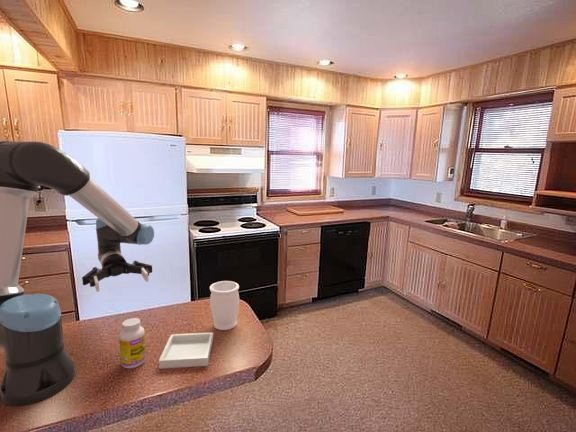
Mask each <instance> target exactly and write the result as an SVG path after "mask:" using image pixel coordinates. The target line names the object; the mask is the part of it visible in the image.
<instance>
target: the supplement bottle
mask: <svg viewBox="0 0 576 432" xmlns="http://www.w3.org/2000/svg"><path fill="white" fill-rule="evenodd" d="M121 328H122V330H120V332H119V336H118V342H119V353H120V354H119V356H120V364H121V367H123V368H124V369H134V368H138V367H139V366H141V365H143V364H144V363H145V361H146V358H147V350H146V333H145V332H146V331H145V328H144V326H141V319H140V318H138V317H131V318H128V319H125V320H123V322H121Z"/></svg>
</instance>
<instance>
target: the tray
mask: <svg viewBox="0 0 576 432" xmlns="http://www.w3.org/2000/svg"><path fill="white" fill-rule="evenodd" d="M213 342H214V332H211V331H210V332H195V333H193V332H192V333H175V334H170V335H169V338H168V340H167V343H166V344H165V346H164V349H163V351H162V352H161V354H160V357H159V359H158V368H159V369H160V370H162V369H175V368H176V369H177V368H188V367H189V368H190V367H207V366H209V362H210V357H211V352H212V347H213Z"/></svg>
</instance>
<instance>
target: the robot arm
mask: <svg viewBox="0 0 576 432" xmlns="http://www.w3.org/2000/svg"><path fill="white" fill-rule="evenodd" d="M39 186H43V187H47V188H49V189H53V190H54V191H56V192H57V193H59V194H60V195H61V196H65V197H68V196H69V197H70V198H72V199H73V200H74V201H75V202H76V203H78V204H79V205H81V206H82V207H83V208H85V209H86V210H87V211H89V212H90V213H91V214H92V215H94V216H95V217H97V219H96V220H95V227H96V228H95V230H96V238H97V239H96V240H97V249H98V250H97V258H98V261H99V263H100V264H101V268H99V267H97V266H94V267H92V269H91V270H89V272H87V273H86V274H85V275H84V276H82V277H81V278H82V285H83V286H86V285H88V284H89V287H90V288H93V287H95V291H96V292H100V283H99V282H100V281H102V280H103V279H106V278H110V277H118V276H121V275H122V274H126V275H129V274H137V275H141V277H142V278H143V279H144V281H145V282H149V276H150V274H152V273H153V265H152V264H149V263H145V262H139V260H138V261H137V260H134V261H133V262H132V263H129V262H127V261H126V259H125V257H124V256H123V254H122V250H121V248H122V247H121V244H132V245H139V246H140V245H145V246H146V245H149V244H151V243H152V242H153V240H154V238H155V229H154V227H153V226H152V225H149V224H146V223H144V224H143V223H141V222H139V221H138V219H136V218H135V217H134V216H133V215H132V214H131V213H129V212H128V211H127V210H126V209H125V208H124V207H123V206H121V205H120V204H119V203H118V202H117V201H116V200H115V199H114V198H113V197H112V196H111V195H110V194H109V193H108V192H107V191H105V190H104V189H103V188H102V187H101V186H100V185H99V184H98V183H96V182H95V181H94V180H93V179H92V178H91V173H90V171H89V170H88V169H86V167H84V166H83V165H82V164H81V163H80V162H79V161H77V160H76V159H75V158H73V157H72V156H71V155H70V154H68V153H66V152H65V151H63V150H62V149H59V148H58V147H56V146H54V145H52V144H50V143H46V142H42V141H9V140H1V141H0V349H3V352H4V359H5V364H6V365H5V366H6V368H5V371H4V375H3V379H2V382H1V385H0V398H1V401H2V403H3V404H4V405H7V406H11V407H12V406H15V407H16V406H25V405H30V404H34V403H37V402H41V401H44V400H46V399H48V398H50V397H53V396H54V395H55V394H58V393H59V392H61V391H62V390H63V389H64V388H66V387H68V385H69V384H71V382H72V381H73V380H74V378H75V376H76V367H75V363H74V362H73V360H72V358H71V357H70V355H69V353H68V352H67V351H66V349H65V342H64V332H63V325H62V310H61V308H60V304H59V301H58V300H57V298H56V297H54V296H52V295H50V294H45V293H33V294H31V293H29V294H24V293H25V288H23V287H22V286H21V285H20V284H19V278H20V270H21V266H22V265H21V264H22V259H23V258H22V257H23V250H24V249H23V248H24V242H25V235H26V230H27V222H28V221H27V220H28V214H29V208H30V207H29V206H30V200H31V198H33V197H35V196H37V195H38V192H39Z"/></svg>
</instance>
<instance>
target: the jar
mask: <svg viewBox="0 0 576 432" xmlns="http://www.w3.org/2000/svg"><path fill="white" fill-rule="evenodd" d="M239 289H240V285H239V283H237V282H235V281H232V280H221V281H217V282H214V283H212V284H210V286H209V291H210V292H211V293H210V299H209V306H210V312H211V316H212V319H213V327H214V328H215V330H216V329H217V330H220V331H228V330H232V329H233V328H235V327H236V326H237V325H238V322H237V321H238V320H237V318H238V314H239V307H240V294H239Z"/></svg>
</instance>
